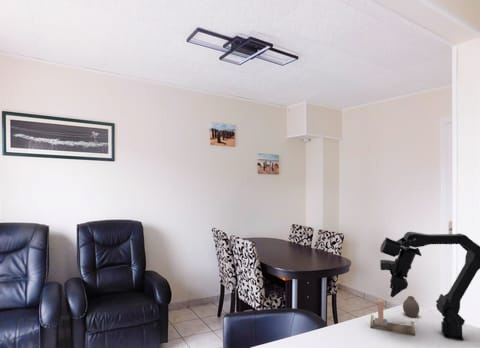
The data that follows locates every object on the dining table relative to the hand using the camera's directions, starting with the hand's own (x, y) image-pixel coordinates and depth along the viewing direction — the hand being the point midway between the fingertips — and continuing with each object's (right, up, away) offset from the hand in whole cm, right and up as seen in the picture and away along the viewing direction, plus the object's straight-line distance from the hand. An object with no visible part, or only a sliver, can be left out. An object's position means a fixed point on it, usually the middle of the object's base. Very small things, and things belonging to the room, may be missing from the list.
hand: (391, 292), depth 141 cm
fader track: (0, -15, -2) cm, 15 cm away
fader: (-4, -14, 0) cm, 14 cm away
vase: (+15, -16, +12) cm, 25 cm away
